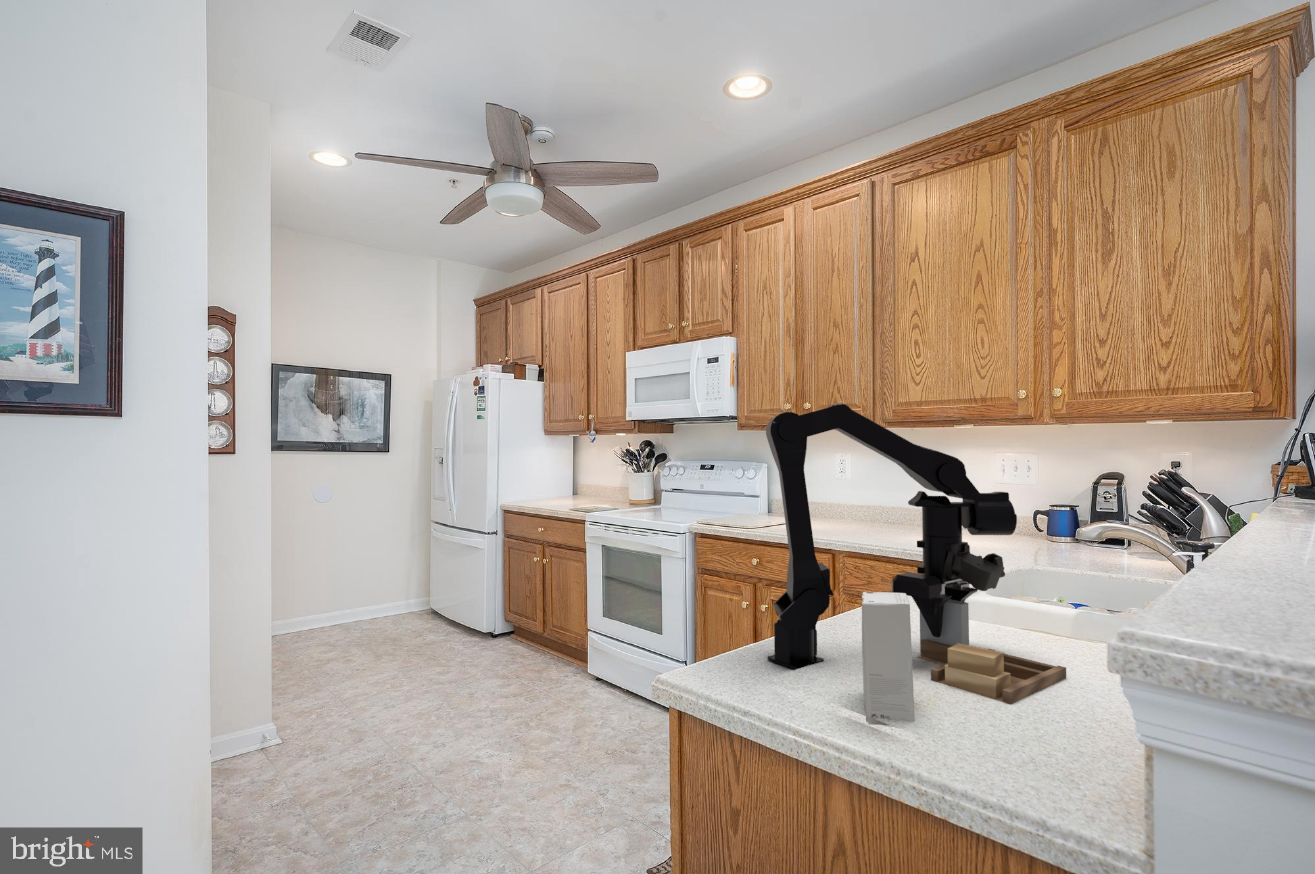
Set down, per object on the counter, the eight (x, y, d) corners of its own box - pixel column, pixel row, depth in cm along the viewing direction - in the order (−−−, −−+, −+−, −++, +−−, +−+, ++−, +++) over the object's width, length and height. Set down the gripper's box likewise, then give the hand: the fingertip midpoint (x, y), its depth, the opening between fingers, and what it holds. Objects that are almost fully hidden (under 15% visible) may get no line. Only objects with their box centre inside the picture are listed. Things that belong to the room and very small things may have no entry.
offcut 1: (994, 677, 85) (993, 658, 85) (947, 666, 90) (947, 648, 90) (1003, 670, 88) (1003, 652, 88) (958, 660, 92) (958, 643, 92)
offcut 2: (995, 698, 85) (995, 679, 85) (945, 683, 90) (944, 665, 90) (1010, 691, 87) (1010, 673, 87) (960, 677, 93) (960, 659, 93)
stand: (946, 672, 98) (946, 648, 98) (916, 663, 102) (916, 641, 102) (971, 663, 102) (971, 640, 102) (941, 655, 106) (941, 633, 106)
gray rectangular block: (962, 664, 98) (961, 604, 99) (920, 652, 104) (919, 596, 104) (969, 661, 99) (968, 602, 100) (927, 650, 105) (926, 594, 105)
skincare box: (915, 730, 78) (913, 605, 78) (862, 723, 79) (861, 601, 80) (910, 704, 86) (909, 590, 86) (862, 698, 87) (861, 588, 88)
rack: (1010, 711, 83) (1010, 691, 83) (931, 686, 92) (930, 668, 92) (1066, 685, 92) (1066, 667, 92) (989, 664, 101) (988, 648, 101)
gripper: (959, 546, 90) (960, 659, 90) (1023, 535, 101) (1025, 636, 101) (889, 537, 99) (890, 640, 99) (955, 529, 110) (956, 621, 110)
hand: (943, 634), depth 102 cm, fingers open, 4 cm apart
